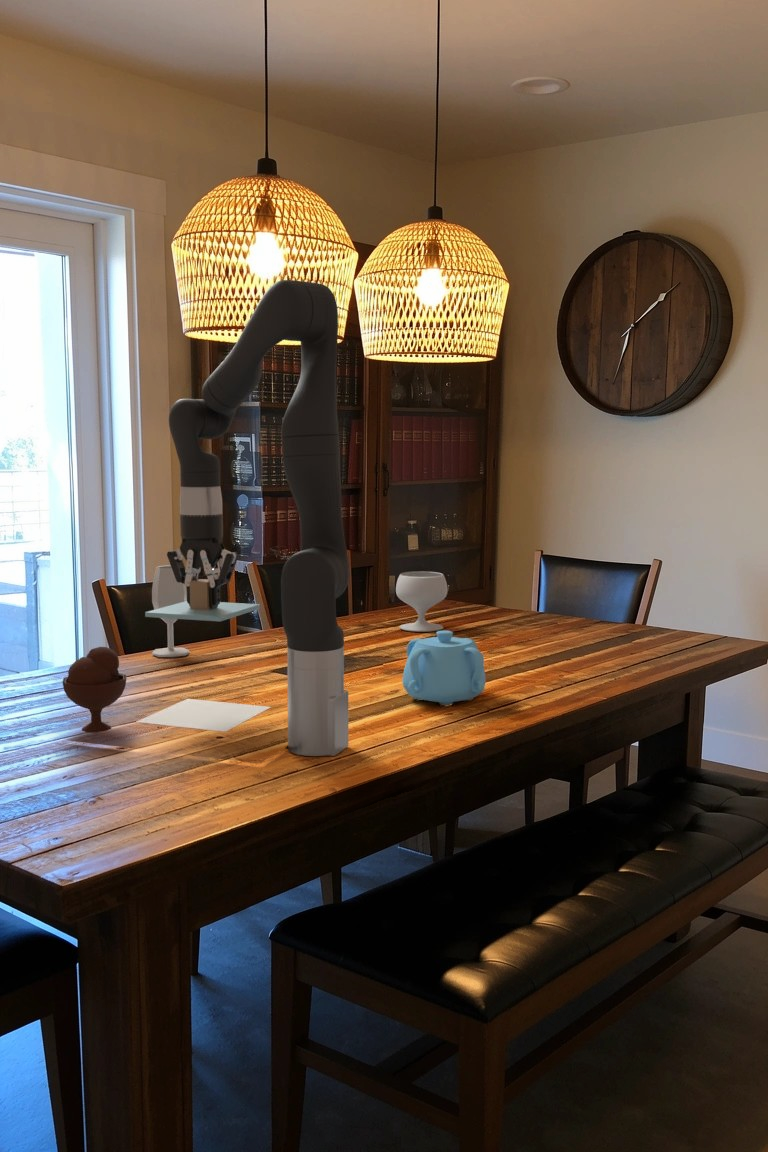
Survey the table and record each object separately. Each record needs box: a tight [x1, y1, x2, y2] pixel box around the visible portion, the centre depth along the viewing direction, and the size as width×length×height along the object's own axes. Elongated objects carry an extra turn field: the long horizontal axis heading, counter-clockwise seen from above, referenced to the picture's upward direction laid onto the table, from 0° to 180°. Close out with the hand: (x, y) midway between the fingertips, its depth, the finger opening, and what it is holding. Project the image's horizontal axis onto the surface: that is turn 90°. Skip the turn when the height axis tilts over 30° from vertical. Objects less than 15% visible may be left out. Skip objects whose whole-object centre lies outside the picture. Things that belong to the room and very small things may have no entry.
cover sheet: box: [144, 578, 261, 622], centre depth 189 cm, size 15×15×6 cm
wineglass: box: [151, 564, 190, 658], centre depth 246 cm, size 9×9×21 cm
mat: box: [135, 698, 272, 733], centre depth 192 cm, size 18×18×1 cm
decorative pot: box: [402, 630, 486, 706], centre depth 205 cm, size 16×16×14 cm
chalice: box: [395, 570, 449, 633], centre depth 282 cm, size 14×14×15 cm
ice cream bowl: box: [62, 646, 127, 734], centre depth 181 cm, size 11×11×15 cm
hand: (203, 606), depth 189 cm, fingers closed on cover sheet, 3 cm apart
